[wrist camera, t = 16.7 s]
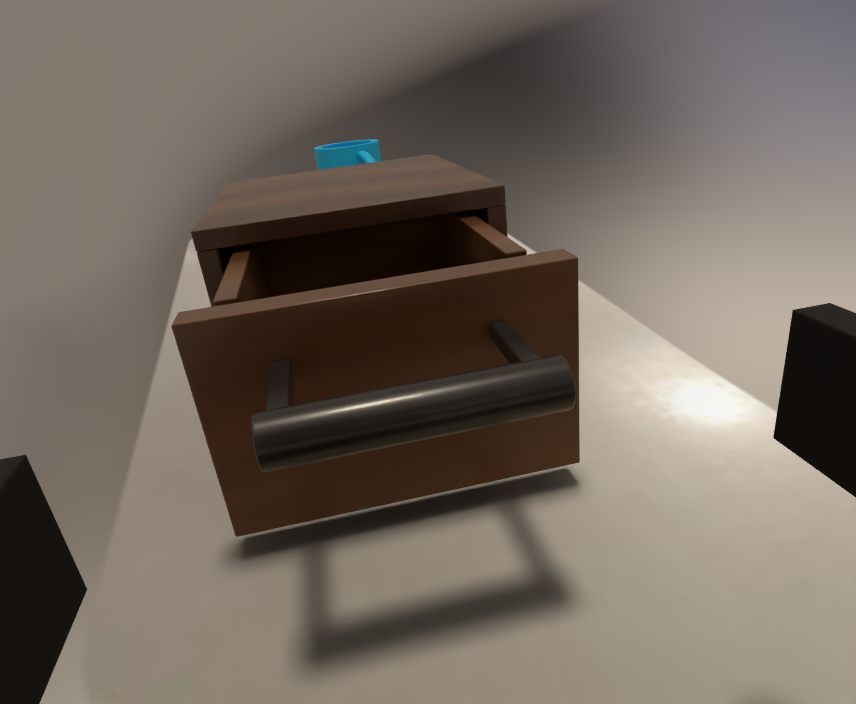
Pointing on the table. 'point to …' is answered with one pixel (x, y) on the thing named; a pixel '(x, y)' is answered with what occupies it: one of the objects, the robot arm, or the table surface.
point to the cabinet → (339, 204)
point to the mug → (347, 154)
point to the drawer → (383, 367)
